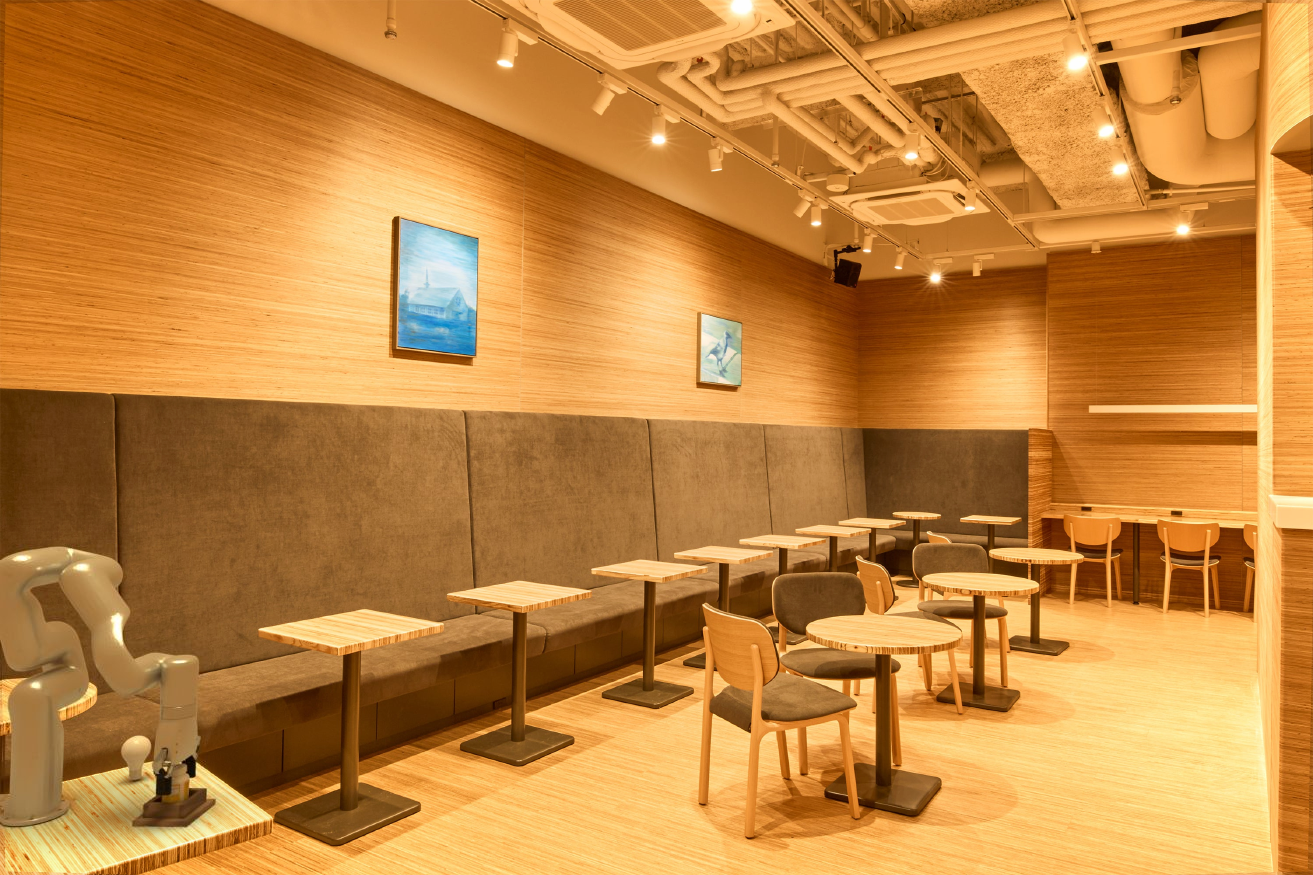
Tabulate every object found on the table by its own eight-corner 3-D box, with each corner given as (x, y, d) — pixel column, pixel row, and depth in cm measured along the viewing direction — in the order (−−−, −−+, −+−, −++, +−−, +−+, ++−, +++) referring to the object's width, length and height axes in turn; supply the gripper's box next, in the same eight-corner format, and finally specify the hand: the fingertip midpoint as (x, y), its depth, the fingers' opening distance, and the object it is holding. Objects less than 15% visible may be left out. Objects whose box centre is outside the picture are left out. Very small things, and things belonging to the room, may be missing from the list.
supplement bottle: (168, 816, 181) (170, 773, 182) (156, 809, 184) (158, 767, 185) (193, 807, 186) (194, 765, 186) (181, 801, 189) (182, 760, 189)
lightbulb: (135, 786, 200) (137, 741, 200) (113, 783, 201) (115, 739, 202) (156, 776, 206) (157, 733, 206) (134, 774, 207) (136, 730, 208)
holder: (132, 826, 179) (132, 806, 179) (164, 802, 191) (165, 784, 191) (186, 826, 179) (187, 807, 179) (215, 803, 191) (216, 785, 191)
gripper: (183, 699, 194) (181, 771, 194) (138, 722, 177) (135, 801, 176) (215, 699, 194) (212, 771, 194) (173, 723, 177) (170, 802, 177)
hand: (176, 785), depth 185 cm, fingers open, 9 cm apart
